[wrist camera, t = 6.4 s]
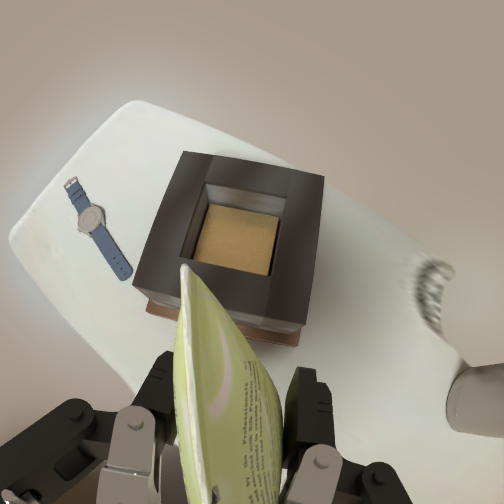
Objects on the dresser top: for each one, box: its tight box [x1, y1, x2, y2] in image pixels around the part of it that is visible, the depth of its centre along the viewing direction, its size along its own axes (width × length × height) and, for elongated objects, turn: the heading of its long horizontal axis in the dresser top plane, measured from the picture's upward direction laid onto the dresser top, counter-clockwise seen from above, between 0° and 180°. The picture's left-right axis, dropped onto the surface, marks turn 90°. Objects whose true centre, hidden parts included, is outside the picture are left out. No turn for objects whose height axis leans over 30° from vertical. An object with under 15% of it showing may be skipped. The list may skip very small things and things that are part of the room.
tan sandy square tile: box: [193, 204, 279, 276], centre depth 28 cm, size 7×7×1 cm
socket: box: [132, 151, 324, 347], centre depth 28 cm, size 16×16×9 cm
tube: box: [173, 263, 283, 504], centre depth 11 cm, size 6×5×20 cm
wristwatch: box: [63, 177, 133, 281], centre depth 34 cm, size 4×20×1 cm, turn 42°
